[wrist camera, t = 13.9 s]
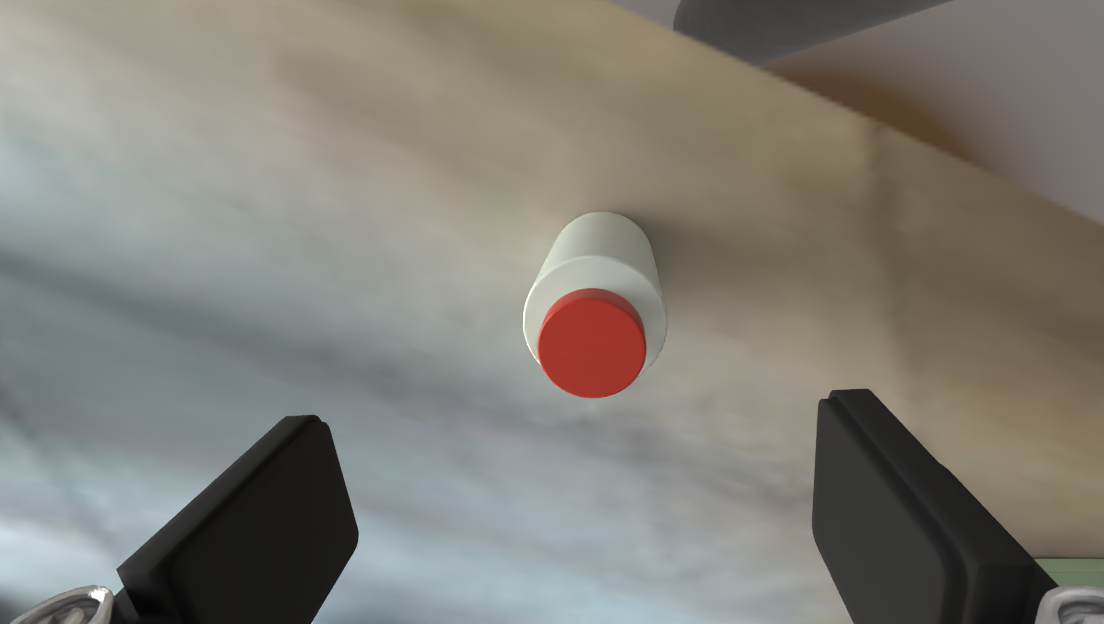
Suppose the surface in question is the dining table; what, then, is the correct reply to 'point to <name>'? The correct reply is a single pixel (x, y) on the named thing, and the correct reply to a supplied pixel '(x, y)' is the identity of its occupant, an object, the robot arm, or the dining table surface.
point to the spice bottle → (596, 307)
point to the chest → (1074, 571)
